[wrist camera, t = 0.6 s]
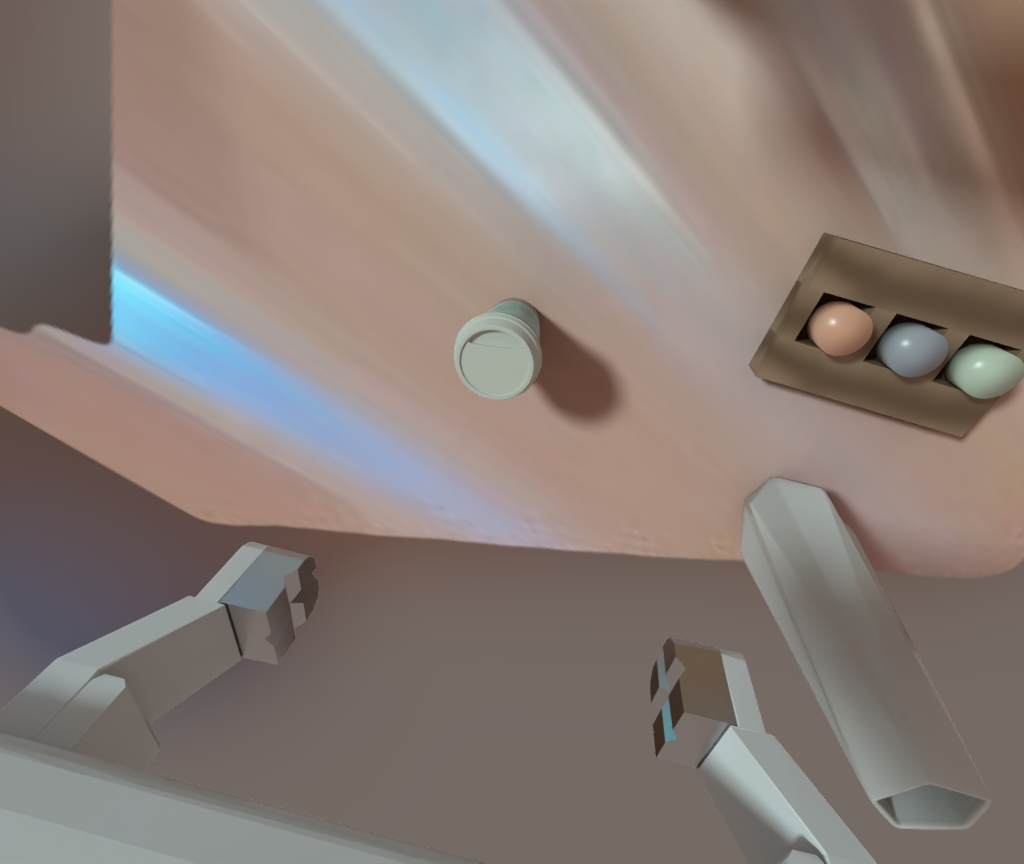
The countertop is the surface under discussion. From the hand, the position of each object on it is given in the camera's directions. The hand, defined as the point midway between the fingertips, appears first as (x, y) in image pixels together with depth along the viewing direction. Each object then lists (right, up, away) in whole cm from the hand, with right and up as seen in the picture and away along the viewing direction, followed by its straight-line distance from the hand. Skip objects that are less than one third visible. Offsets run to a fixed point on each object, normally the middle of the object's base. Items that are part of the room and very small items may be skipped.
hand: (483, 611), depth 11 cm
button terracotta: (+32, +15, +35) cm, 49 cm away
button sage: (+45, +11, +35) cm, 58 cm away
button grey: (+38, +13, +35) cm, 53 cm away
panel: (+39, +14, +37) cm, 55 cm away
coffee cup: (+1, +17, +43) cm, 46 cm away
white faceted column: (+35, -4, +49) cm, 60 cm away
